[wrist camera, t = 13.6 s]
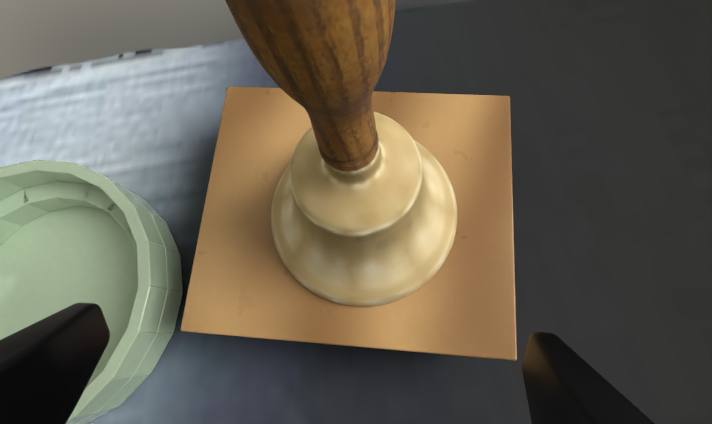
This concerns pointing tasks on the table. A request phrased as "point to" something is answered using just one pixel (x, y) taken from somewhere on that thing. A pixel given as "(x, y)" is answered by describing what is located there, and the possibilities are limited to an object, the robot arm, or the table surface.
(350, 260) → the hand bell
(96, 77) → the table surface
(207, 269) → the footstool
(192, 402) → the table surface
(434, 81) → the table surface
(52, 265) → the bowl
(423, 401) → the table surface
